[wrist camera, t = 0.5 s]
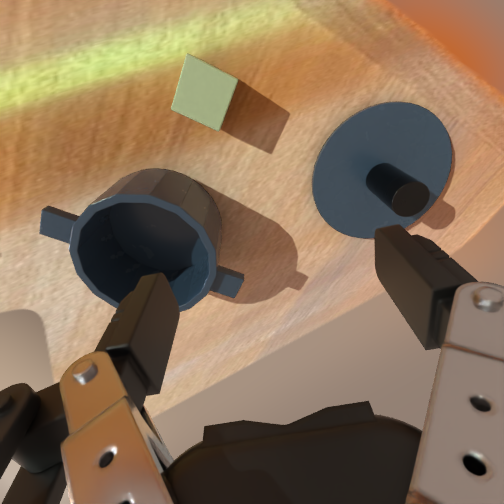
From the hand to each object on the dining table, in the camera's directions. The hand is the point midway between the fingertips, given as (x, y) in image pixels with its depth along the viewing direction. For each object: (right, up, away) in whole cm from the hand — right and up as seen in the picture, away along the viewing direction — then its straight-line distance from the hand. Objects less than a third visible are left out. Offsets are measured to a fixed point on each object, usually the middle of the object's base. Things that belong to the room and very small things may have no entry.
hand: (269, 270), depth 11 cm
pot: (-10, +4, +21) cm, 24 cm away
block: (-4, +15, +15) cm, 21 cm away
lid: (+12, +8, +18) cm, 23 cm away
